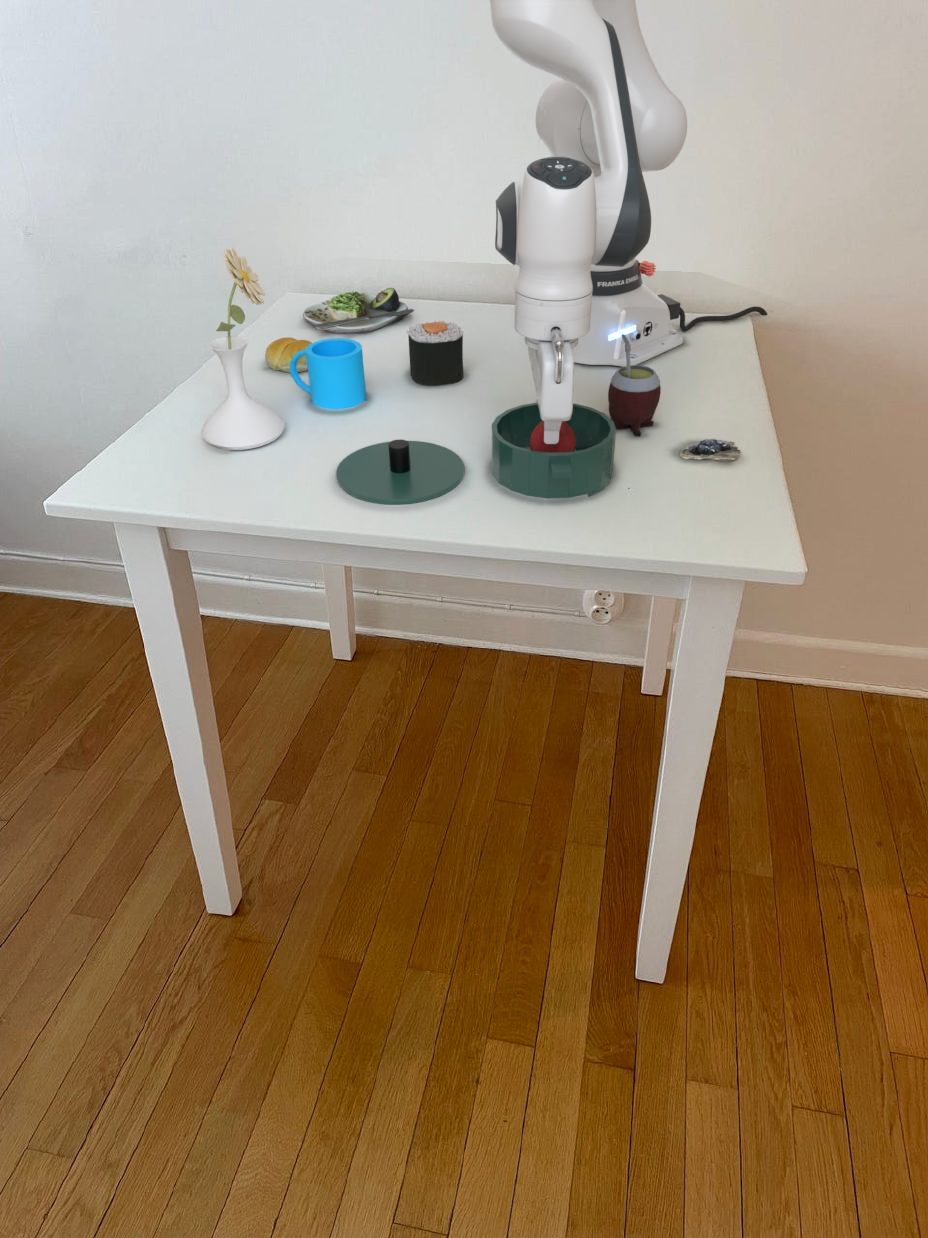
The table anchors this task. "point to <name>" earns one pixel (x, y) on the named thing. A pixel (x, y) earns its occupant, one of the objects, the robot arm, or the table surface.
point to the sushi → (436, 353)
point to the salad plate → (357, 312)
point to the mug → (333, 373)
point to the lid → (400, 472)
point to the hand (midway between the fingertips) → (547, 425)
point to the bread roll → (286, 354)
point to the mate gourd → (633, 395)
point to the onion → (564, 444)
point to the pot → (553, 454)
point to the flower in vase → (239, 377)
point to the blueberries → (711, 450)
